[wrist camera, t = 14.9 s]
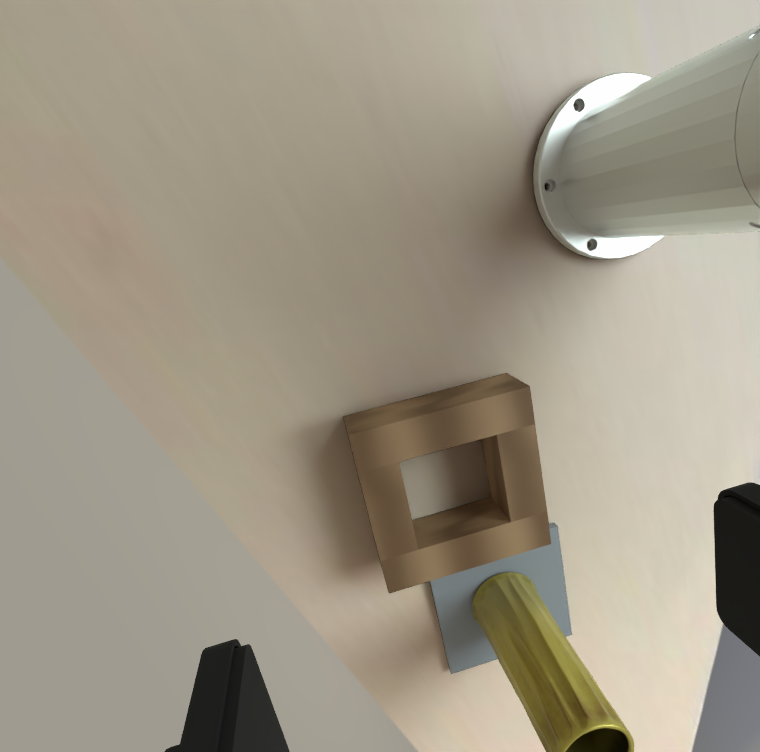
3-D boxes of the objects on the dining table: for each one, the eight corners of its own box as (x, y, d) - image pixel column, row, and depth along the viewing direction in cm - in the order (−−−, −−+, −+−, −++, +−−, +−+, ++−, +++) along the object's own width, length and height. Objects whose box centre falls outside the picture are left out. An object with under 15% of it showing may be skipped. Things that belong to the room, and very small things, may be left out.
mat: (554, 522, 43) (557, 526, 43) (568, 629, 47) (571, 634, 46) (425, 561, 42) (427, 565, 41) (449, 668, 45) (451, 673, 45)
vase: (483, 639, 44) (566, 812, 31) (461, 589, 43) (538, 748, 29) (543, 610, 45) (651, 768, 31) (524, 559, 43) (629, 703, 29)
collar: (506, 373, 39) (529, 386, 35) (528, 517, 43) (551, 543, 39) (343, 416, 38) (348, 435, 34) (380, 561, 41) (388, 593, 38)
